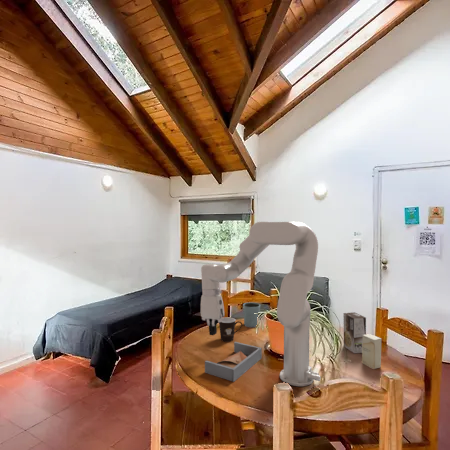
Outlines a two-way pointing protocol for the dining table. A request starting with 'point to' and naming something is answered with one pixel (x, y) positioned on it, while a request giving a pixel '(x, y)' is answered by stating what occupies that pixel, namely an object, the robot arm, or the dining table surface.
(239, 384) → the dining table surface
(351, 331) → the coffee box
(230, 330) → the coffee mug
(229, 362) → the sunglasses case
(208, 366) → the bin
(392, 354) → the dining table surface
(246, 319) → the blue-grey cylindrical container
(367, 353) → the skincare box
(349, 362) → the dining table surface
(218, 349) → the dining table surface
